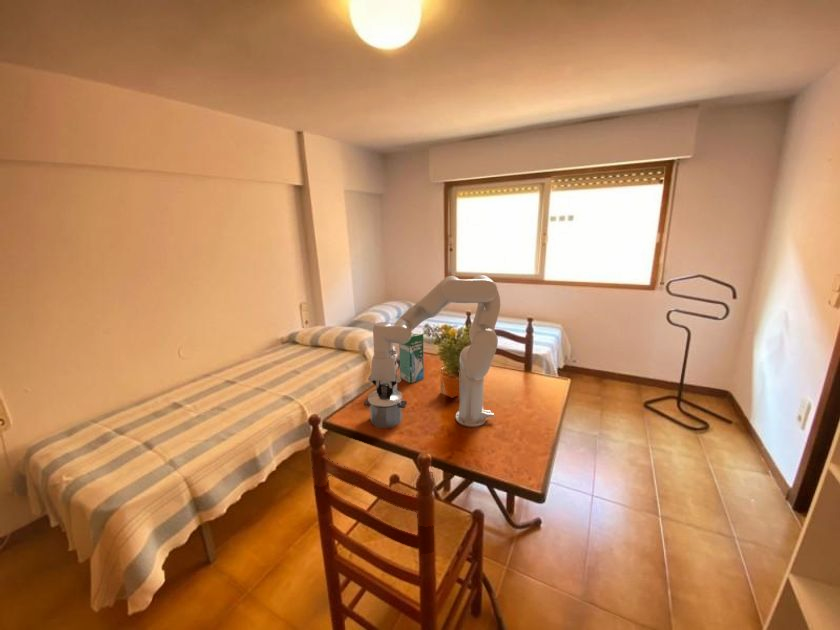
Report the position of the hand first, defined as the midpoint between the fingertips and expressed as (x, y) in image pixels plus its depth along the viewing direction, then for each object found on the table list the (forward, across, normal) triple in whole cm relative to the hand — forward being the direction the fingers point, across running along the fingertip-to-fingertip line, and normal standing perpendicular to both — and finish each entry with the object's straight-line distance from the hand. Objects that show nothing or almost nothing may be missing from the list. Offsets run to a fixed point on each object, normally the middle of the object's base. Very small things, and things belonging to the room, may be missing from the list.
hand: (385, 395), depth 139 cm
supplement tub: (+12, +5, -23) cm, 26 cm away
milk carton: (+11, -4, -41) cm, 43 cm away
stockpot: (+11, 0, 0) cm, 11 cm away
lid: (+3, 0, 0) cm, 3 cm away
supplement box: (+11, -25, -25) cm, 37 cm away
